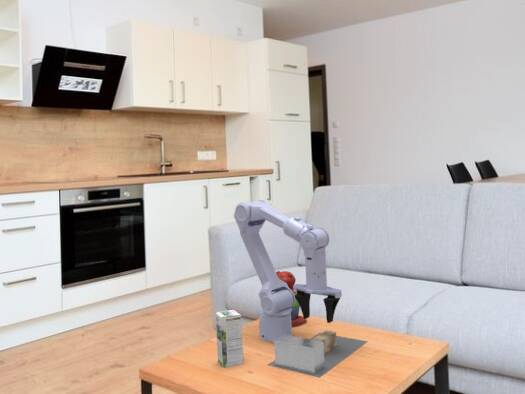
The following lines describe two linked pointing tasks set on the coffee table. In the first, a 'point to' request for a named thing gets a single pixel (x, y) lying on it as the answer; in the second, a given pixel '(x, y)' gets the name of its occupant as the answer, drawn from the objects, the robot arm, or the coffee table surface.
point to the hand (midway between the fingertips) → (318, 319)
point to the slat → (327, 340)
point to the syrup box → (229, 338)
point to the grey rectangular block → (299, 353)
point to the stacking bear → (290, 281)
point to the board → (332, 354)
